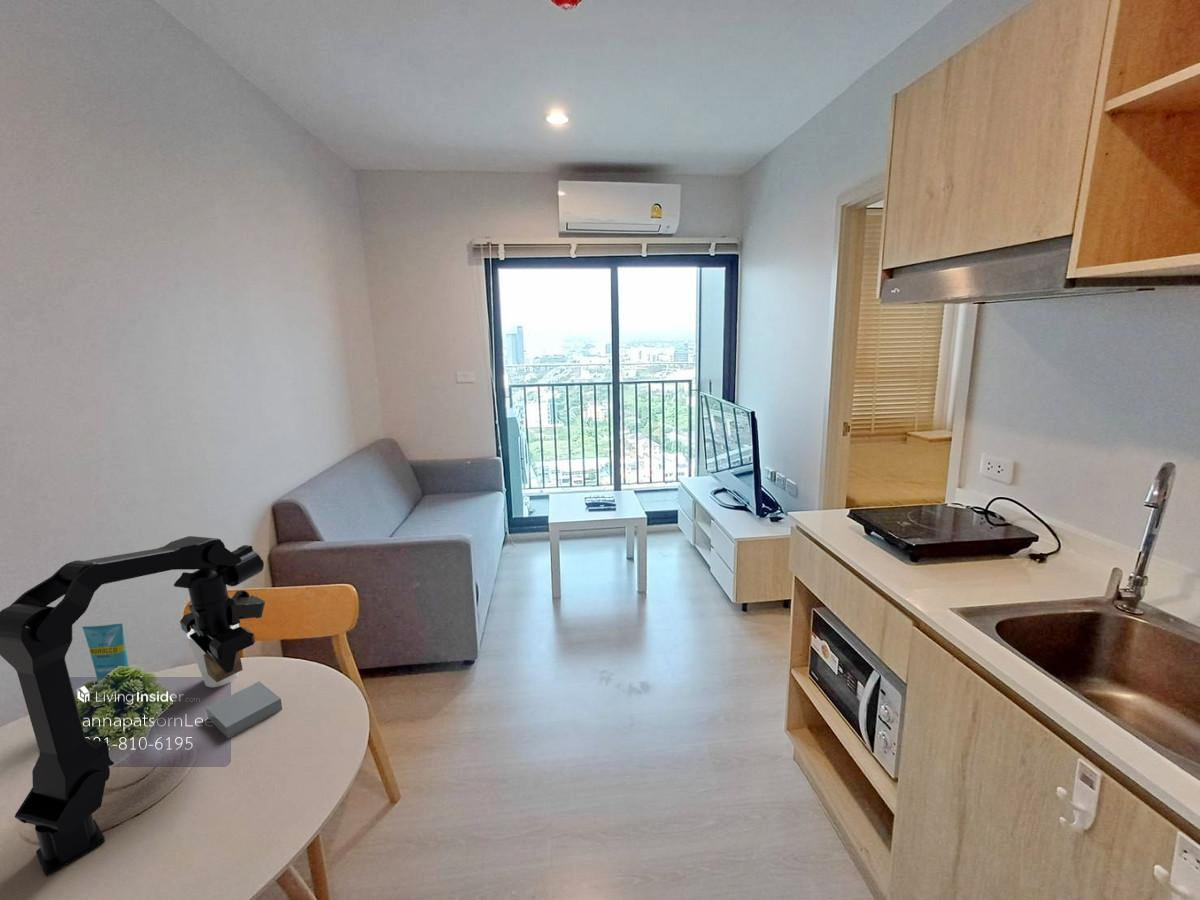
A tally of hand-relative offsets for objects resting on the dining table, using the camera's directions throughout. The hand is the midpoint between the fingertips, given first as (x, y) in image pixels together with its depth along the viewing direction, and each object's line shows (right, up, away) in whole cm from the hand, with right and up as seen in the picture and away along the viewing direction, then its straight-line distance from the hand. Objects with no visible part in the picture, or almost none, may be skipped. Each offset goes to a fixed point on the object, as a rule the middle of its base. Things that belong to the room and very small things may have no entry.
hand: (224, 667), depth 102 cm
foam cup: (-12, -9, +16) cm, 22 cm away
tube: (-28, -11, +7) cm, 31 cm away
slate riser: (+1, -12, +4) cm, 12 cm away
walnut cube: (0, -1, 0) cm, 1 cm away
